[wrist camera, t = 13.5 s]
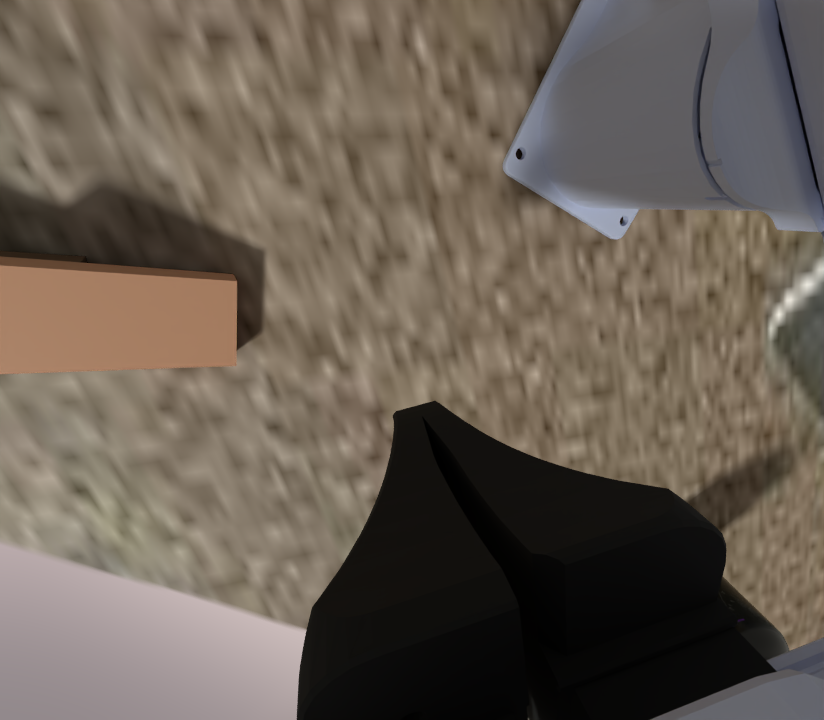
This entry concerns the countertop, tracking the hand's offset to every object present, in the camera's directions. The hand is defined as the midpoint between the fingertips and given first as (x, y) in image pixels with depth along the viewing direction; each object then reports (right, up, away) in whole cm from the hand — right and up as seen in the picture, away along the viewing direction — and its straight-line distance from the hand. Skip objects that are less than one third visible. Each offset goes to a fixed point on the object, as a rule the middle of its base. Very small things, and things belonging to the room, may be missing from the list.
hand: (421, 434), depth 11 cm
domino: (-9, +4, +7) cm, 12 cm away
